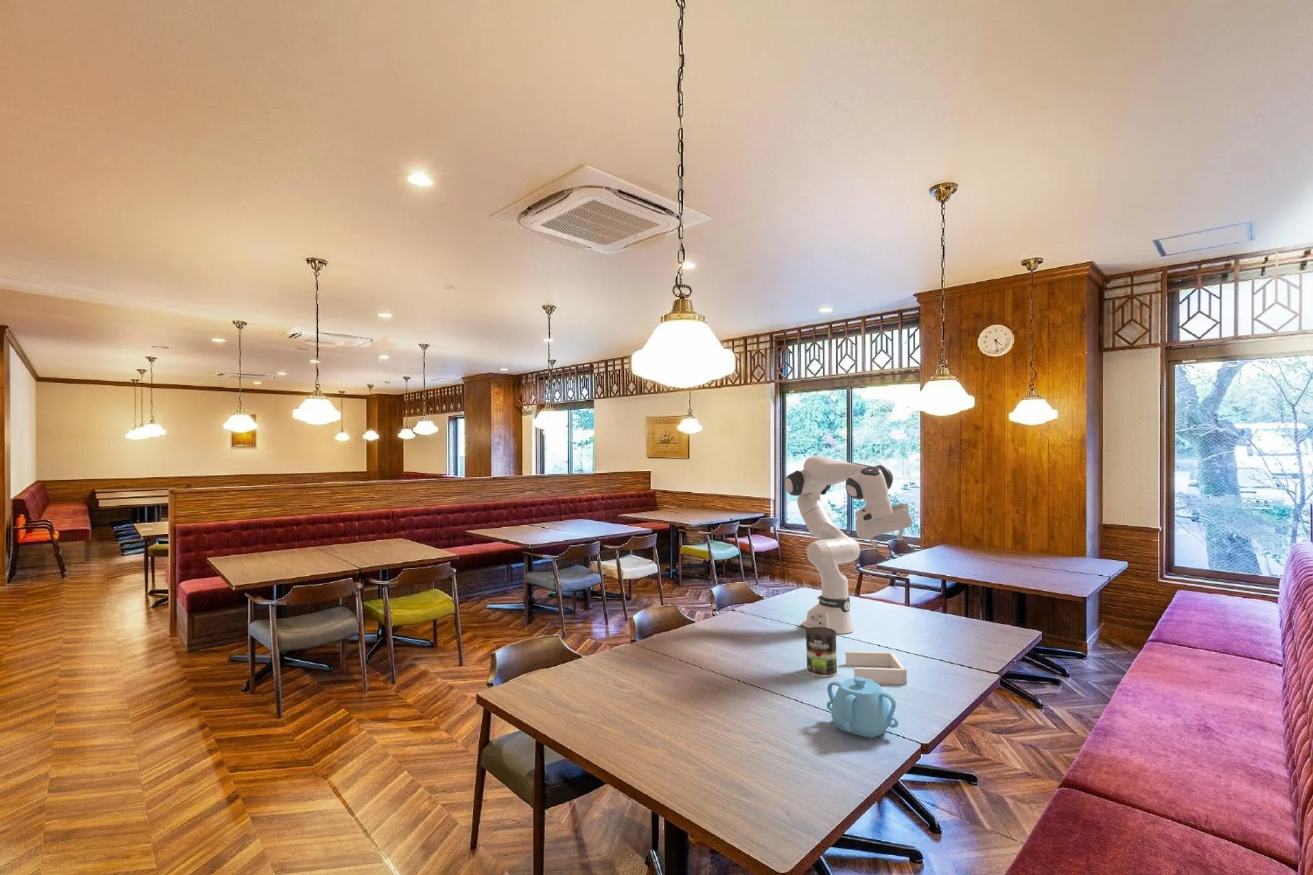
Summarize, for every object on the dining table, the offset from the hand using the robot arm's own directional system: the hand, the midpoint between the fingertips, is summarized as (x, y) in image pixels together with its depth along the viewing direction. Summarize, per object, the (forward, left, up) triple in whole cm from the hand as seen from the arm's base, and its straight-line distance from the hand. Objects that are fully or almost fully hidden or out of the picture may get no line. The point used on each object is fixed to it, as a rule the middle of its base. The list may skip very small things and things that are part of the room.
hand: (887, 543), depth 217 cm
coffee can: (-5, -35, -42) cm, 55 cm away
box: (+7, -23, -41) cm, 48 cm away
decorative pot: (+28, -61, -42) cm, 79 cm away
